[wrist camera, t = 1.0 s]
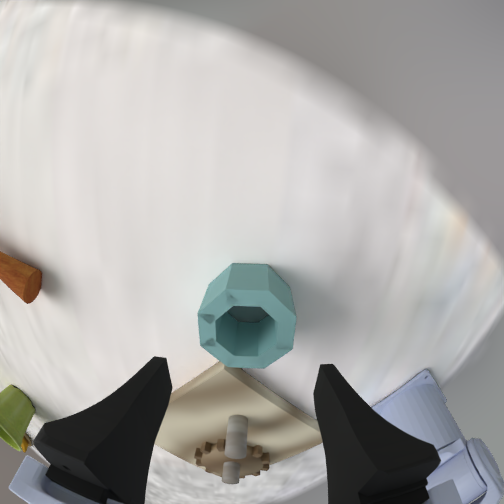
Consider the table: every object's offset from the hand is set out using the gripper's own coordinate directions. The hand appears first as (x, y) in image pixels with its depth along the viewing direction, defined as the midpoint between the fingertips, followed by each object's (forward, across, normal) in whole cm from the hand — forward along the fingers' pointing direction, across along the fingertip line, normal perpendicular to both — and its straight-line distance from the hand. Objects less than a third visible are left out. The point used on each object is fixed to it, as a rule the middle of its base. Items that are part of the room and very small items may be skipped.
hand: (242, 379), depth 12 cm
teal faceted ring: (+8, 0, 0) cm, 8 cm away
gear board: (+8, +2, +16) cm, 18 cm away
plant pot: (+8, +37, +23) cm, 44 cm away
